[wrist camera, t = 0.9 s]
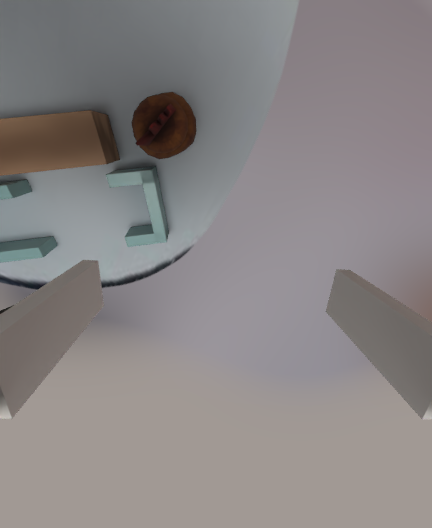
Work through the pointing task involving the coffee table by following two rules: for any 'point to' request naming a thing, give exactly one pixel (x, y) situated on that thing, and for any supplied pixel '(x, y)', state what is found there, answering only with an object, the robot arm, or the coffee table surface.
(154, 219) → the endcaps
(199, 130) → the coffee table surface
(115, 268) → the coffee table surface
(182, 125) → the wooden figurine
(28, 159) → the slat
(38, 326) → the robot arm
